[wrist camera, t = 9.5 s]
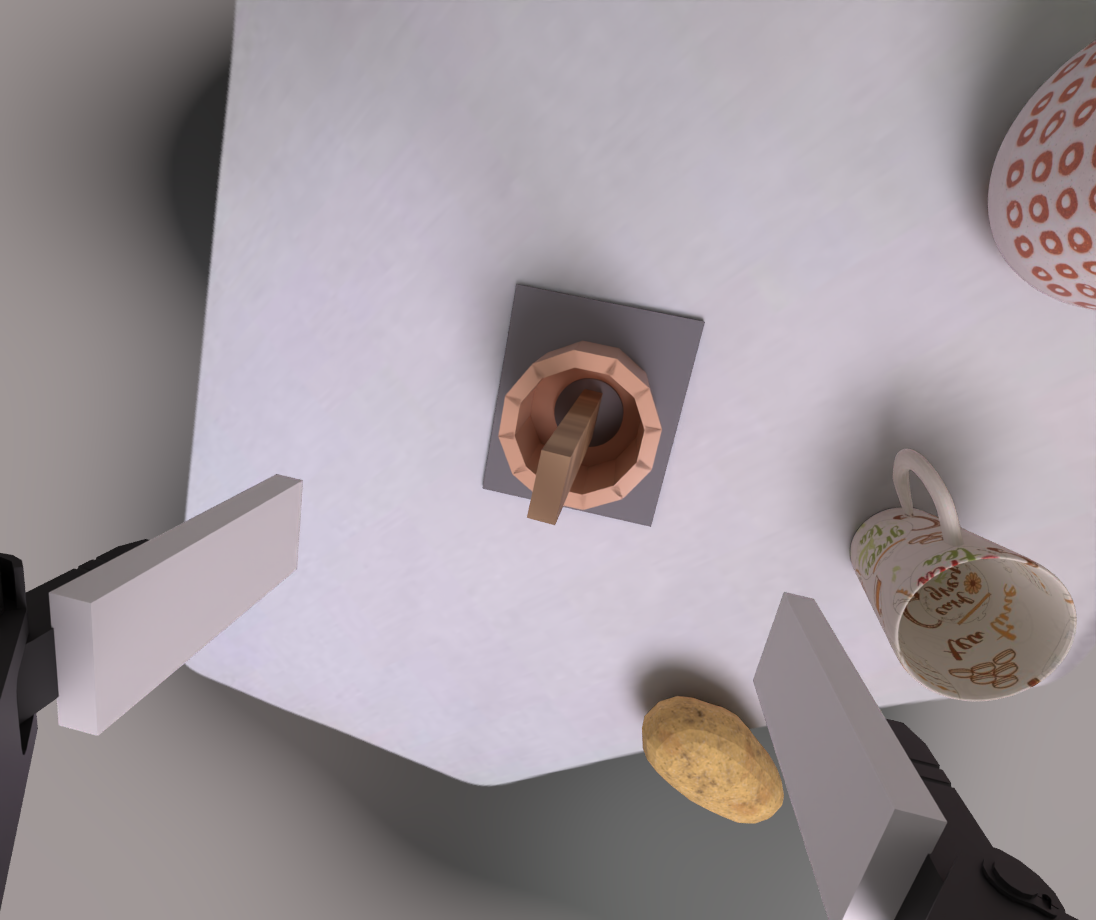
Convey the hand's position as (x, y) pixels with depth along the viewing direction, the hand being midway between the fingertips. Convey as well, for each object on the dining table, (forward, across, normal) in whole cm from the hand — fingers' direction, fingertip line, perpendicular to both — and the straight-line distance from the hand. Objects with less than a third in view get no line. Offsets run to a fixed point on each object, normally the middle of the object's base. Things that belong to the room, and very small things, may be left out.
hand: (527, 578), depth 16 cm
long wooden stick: (+23, 0, 0) cm, 23 cm away
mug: (+25, +21, -3) cm, 33 cm away
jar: (+24, 0, 0) cm, 24 cm away
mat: (+24, 0, 0) cm, 25 cm away
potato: (+25, +14, -22) cm, 36 cm away
